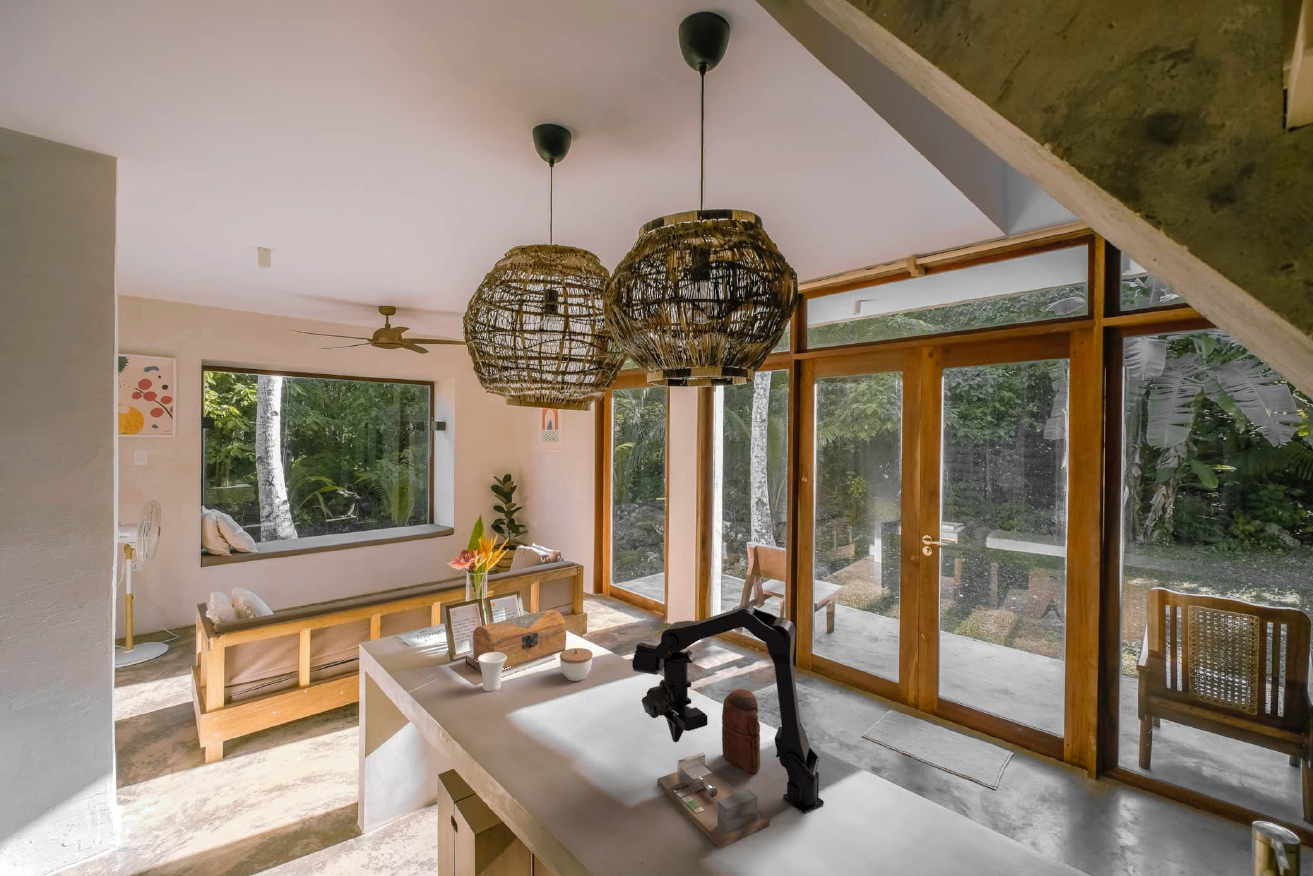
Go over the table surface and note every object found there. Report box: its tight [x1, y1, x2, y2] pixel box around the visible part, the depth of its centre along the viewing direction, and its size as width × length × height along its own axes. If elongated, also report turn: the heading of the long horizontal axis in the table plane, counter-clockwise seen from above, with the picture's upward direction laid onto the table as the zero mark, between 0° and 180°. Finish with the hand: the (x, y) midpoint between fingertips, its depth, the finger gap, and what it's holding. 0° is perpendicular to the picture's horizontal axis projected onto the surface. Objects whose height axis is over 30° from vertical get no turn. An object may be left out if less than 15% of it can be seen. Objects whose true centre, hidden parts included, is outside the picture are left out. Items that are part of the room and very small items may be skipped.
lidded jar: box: [559, 647, 593, 682], centre depth 197 cm, size 11×11×9 cm
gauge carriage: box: [675, 752, 717, 797], centre depth 133 cm, size 9×9×5 cm
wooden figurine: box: [721, 688, 761, 775], centre depth 147 cm, size 12×6×18 cm, turn 42°
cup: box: [478, 652, 507, 692], centre depth 189 cm, size 9×9×10 cm
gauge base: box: [656, 763, 771, 849], centre depth 131 cm, size 13×24×6 cm, turn 31°
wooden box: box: [472, 609, 567, 669], centre depth 215 cm, size 30×16×14 cm, turn 133°
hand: (675, 741), depth 143 cm, fingers closed
